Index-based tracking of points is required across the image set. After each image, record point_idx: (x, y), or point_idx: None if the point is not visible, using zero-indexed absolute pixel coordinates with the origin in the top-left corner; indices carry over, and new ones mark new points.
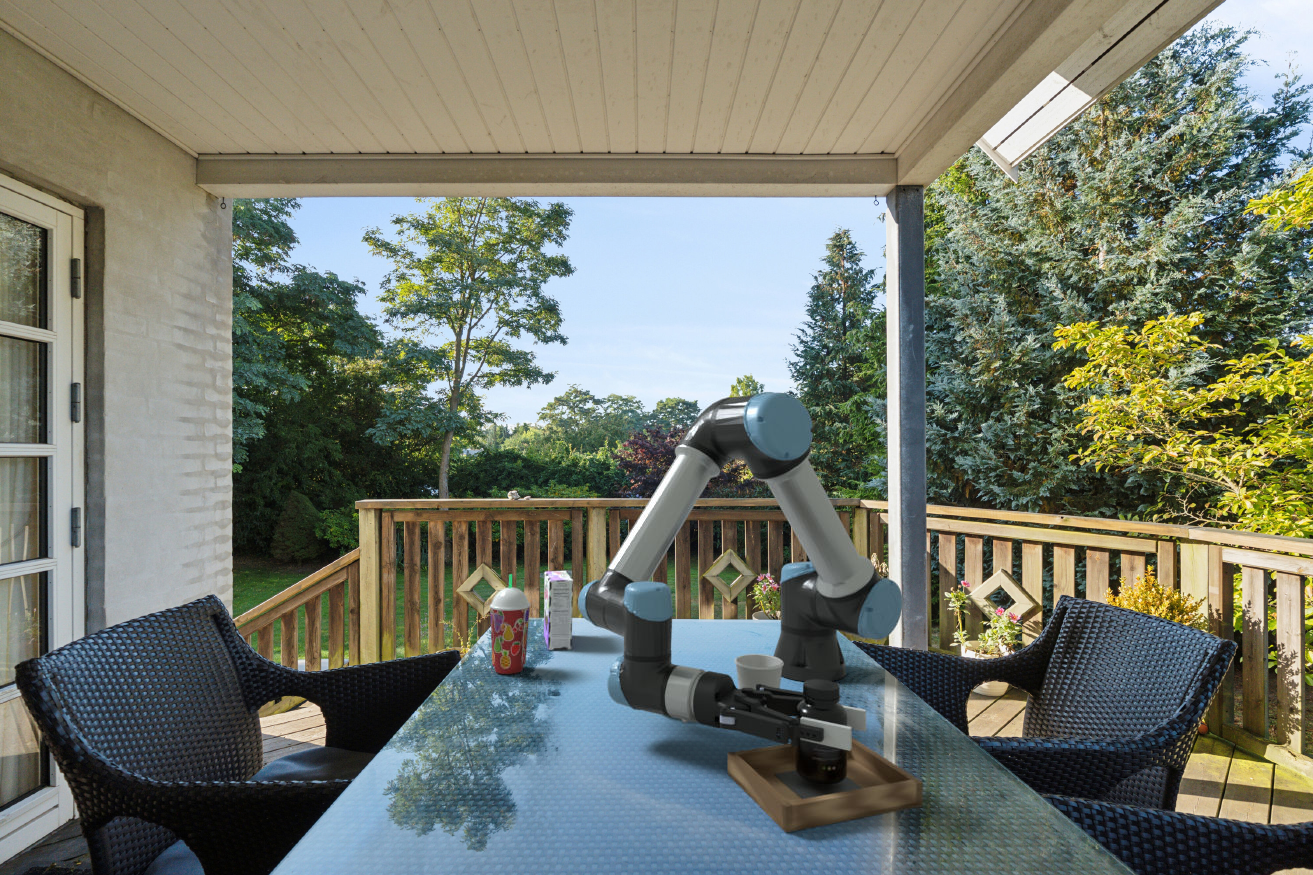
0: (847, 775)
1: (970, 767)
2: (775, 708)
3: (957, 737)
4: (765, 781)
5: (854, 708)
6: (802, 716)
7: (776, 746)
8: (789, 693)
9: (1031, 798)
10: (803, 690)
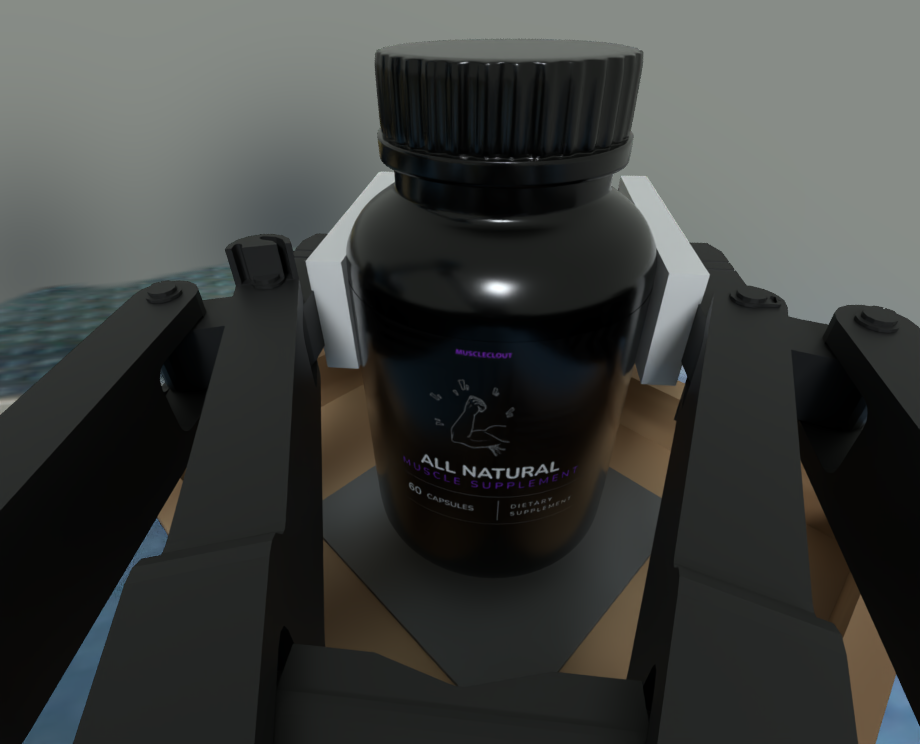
0: (372, 457)
1: (217, 287)
2: (315, 574)
3: (21, 305)
4: (846, 652)
5: (380, 187)
6: (651, 279)
7: None
8: (80, 435)
9: None
10: (577, 123)
